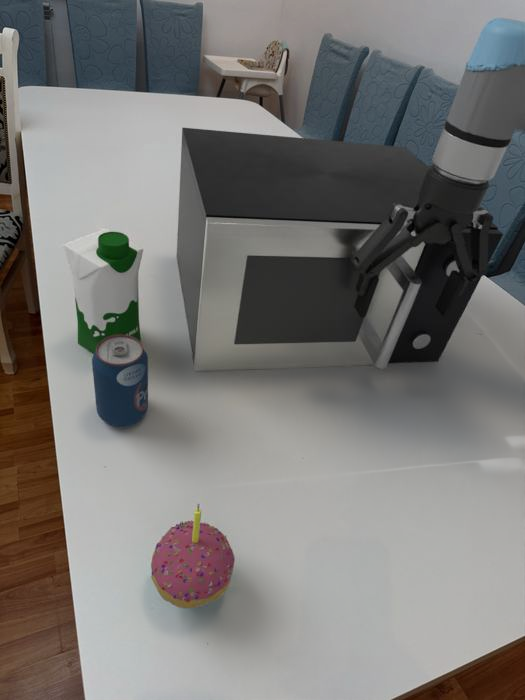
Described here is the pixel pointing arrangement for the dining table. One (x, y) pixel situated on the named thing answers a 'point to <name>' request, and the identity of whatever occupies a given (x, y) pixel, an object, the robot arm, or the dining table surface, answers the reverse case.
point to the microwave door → (296, 296)
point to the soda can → (120, 380)
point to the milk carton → (105, 286)
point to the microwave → (313, 211)
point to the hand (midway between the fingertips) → (401, 311)
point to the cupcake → (192, 564)
